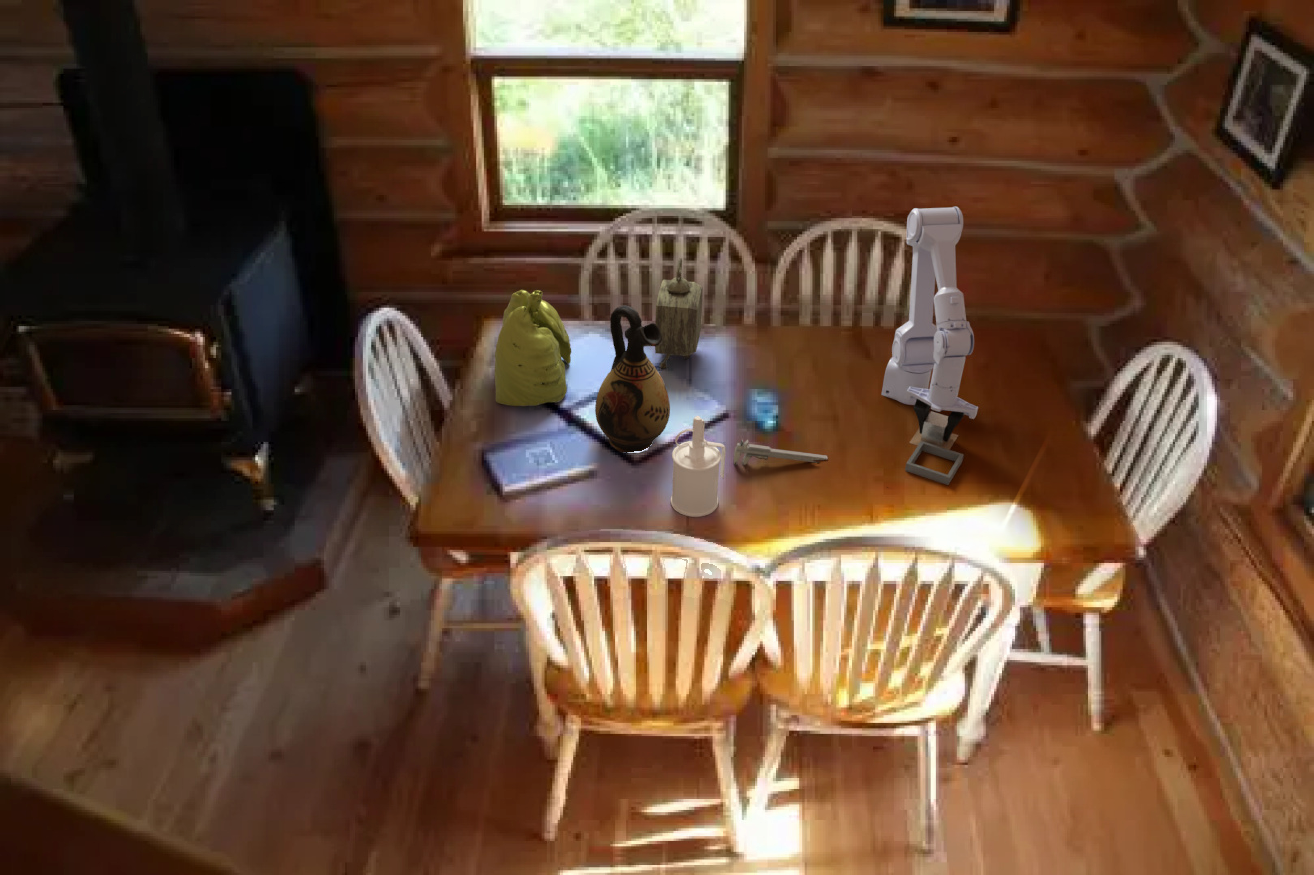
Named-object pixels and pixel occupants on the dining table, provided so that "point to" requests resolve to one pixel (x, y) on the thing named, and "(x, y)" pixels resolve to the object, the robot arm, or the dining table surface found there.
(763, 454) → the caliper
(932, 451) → the bin
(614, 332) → the ceramic jug
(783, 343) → the dining table surface
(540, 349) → the lungs
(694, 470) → the white cylinder with rod
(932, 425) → the grey block
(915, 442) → the stud plate
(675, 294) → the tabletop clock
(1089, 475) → the dining table surface
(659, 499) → the dining table surface
